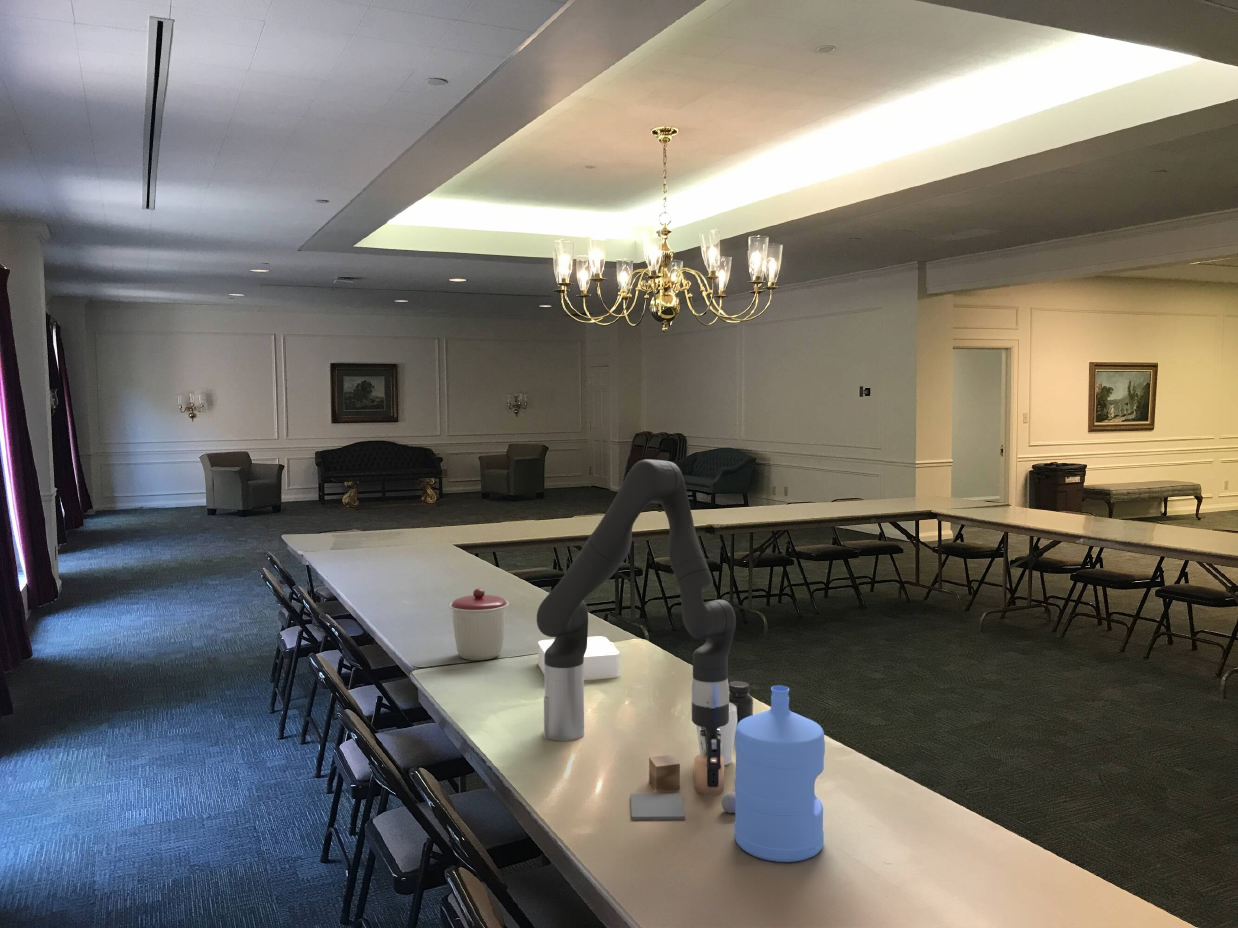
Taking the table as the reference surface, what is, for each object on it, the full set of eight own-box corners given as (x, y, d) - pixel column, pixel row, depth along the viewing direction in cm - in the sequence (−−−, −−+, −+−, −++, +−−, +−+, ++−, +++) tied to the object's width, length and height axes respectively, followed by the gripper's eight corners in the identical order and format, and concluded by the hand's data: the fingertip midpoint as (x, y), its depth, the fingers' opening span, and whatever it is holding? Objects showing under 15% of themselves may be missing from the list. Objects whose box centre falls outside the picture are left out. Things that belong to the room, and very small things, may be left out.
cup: (710, 771, 193) (710, 716, 192) (687, 757, 201) (687, 703, 200) (745, 763, 197) (745, 709, 196) (721, 749, 205) (722, 697, 204)
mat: (631, 819, 171) (631, 816, 171) (630, 796, 181) (630, 793, 181) (684, 819, 171) (684, 816, 171) (681, 796, 181) (681, 793, 181)
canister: (443, 652, 285) (442, 585, 284) (499, 645, 293) (498, 580, 291) (458, 667, 269) (457, 597, 268) (517, 660, 277) (516, 591, 275)
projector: (626, 677, 260) (626, 653, 259) (549, 683, 254) (548, 659, 254) (609, 657, 280) (609, 635, 280) (536, 662, 275) (536, 640, 274)
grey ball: (722, 816, 172) (722, 797, 172) (720, 807, 176) (720, 789, 176) (741, 816, 172) (741, 797, 172) (738, 807, 176) (739, 789, 176)
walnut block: (656, 790, 184) (656, 766, 184) (649, 780, 189) (649, 757, 189) (679, 787, 185) (679, 763, 185) (671, 778, 190) (672, 754, 190)
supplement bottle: (751, 740, 211) (752, 689, 210) (722, 737, 212) (722, 687, 212) (753, 729, 218) (754, 680, 217) (724, 727, 219) (725, 678, 218)
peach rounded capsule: (695, 794, 182) (695, 765, 182) (693, 781, 188) (693, 753, 188) (725, 794, 182) (725, 764, 182) (722, 781, 188) (722, 753, 188)
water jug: (765, 872, 152) (766, 708, 150) (718, 831, 166) (719, 681, 164) (841, 853, 158) (844, 695, 156) (790, 815, 173) (791, 670, 171)
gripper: (688, 688, 191) (689, 764, 192) (694, 711, 177) (695, 792, 178) (724, 688, 191) (724, 763, 192) (733, 710, 177) (733, 792, 178)
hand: (710, 777), depth 185 cm, fingers open, 8 cm apart
